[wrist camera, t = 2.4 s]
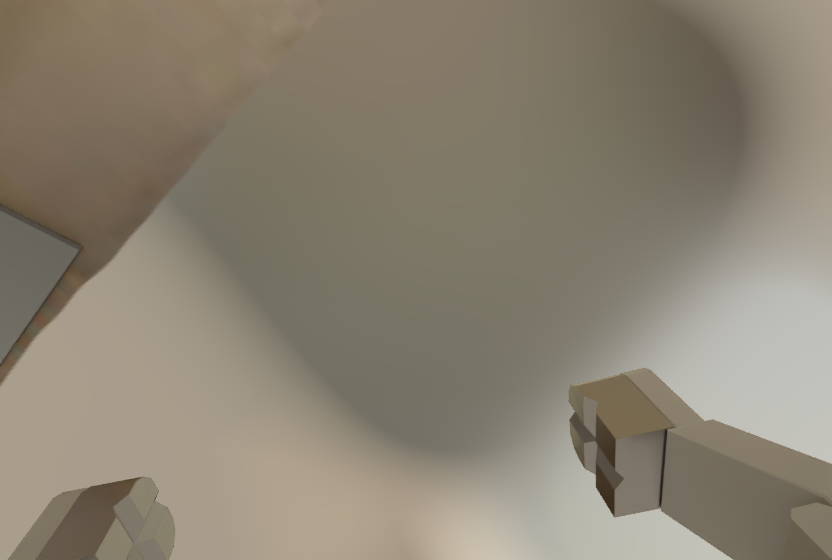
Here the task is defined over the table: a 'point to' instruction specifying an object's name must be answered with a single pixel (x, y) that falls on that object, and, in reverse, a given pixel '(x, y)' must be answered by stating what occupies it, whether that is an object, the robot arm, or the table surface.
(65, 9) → the table surface
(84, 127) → the table surface
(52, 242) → the pad
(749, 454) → the robot arm
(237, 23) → the table surface
